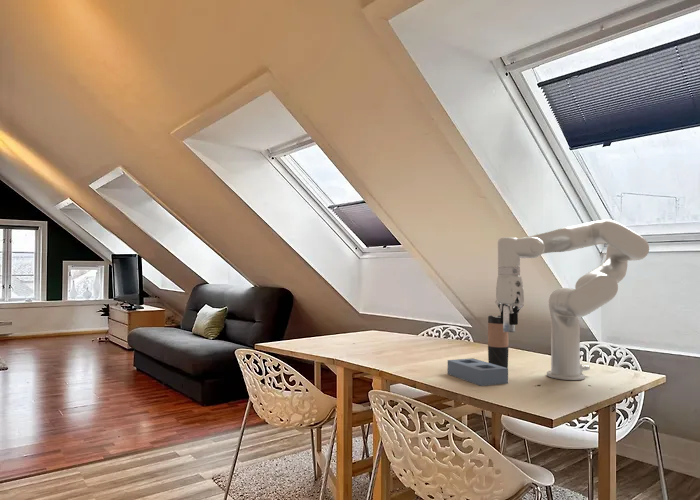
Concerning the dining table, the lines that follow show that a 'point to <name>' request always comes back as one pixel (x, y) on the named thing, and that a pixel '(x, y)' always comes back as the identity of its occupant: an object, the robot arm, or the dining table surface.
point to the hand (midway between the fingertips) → (509, 323)
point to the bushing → (507, 320)
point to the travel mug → (497, 342)
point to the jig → (478, 371)
